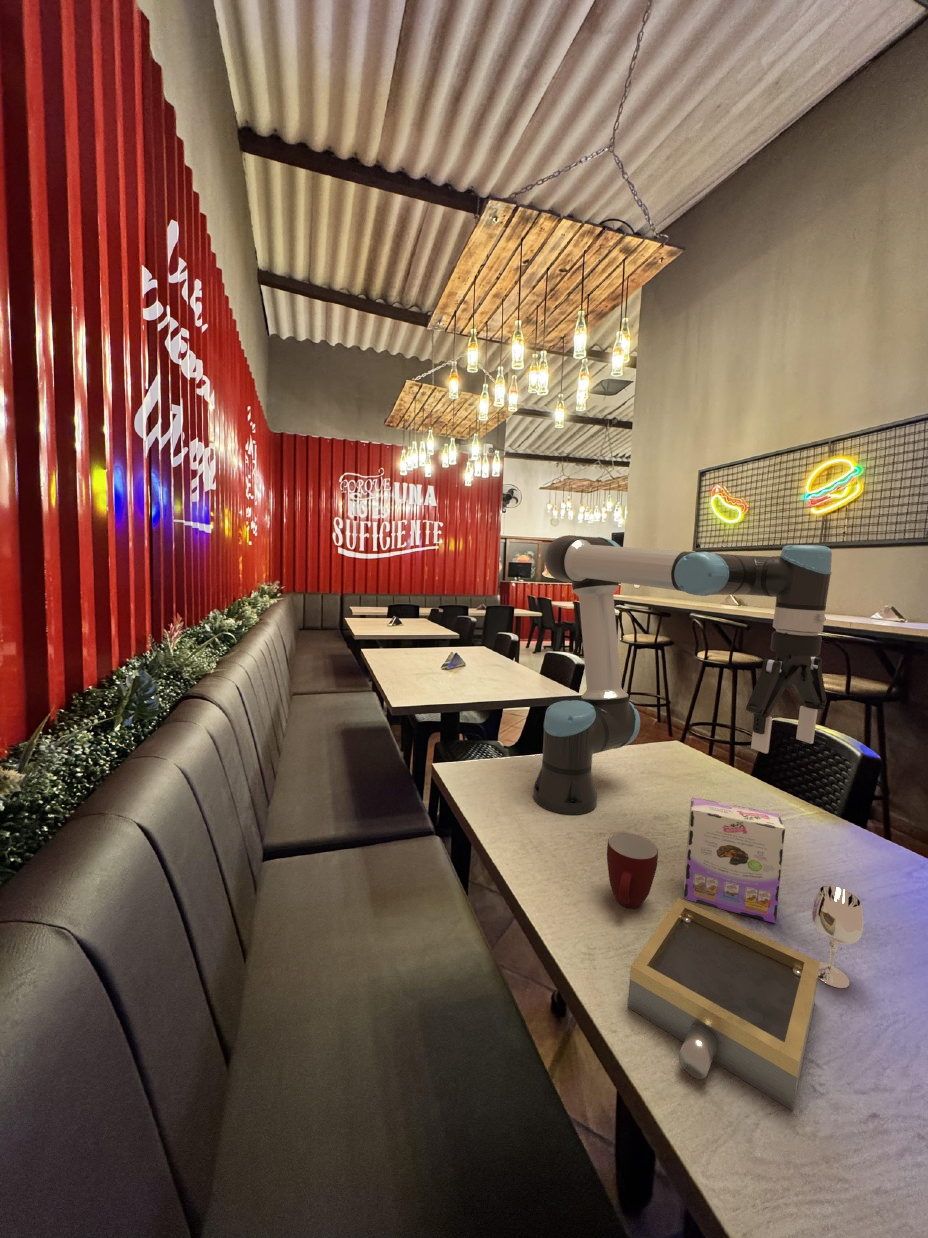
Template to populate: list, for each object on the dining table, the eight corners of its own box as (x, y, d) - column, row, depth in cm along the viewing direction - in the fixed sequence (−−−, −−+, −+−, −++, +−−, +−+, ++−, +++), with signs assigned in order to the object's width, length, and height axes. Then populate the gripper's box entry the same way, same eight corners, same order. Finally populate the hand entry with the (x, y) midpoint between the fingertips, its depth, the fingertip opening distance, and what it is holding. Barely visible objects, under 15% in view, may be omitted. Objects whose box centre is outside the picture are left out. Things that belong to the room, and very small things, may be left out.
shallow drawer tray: (614, 1028, 61) (617, 985, 60) (674, 932, 78) (678, 898, 77) (786, 1144, 49) (792, 1092, 49) (814, 1002, 66) (819, 962, 65)
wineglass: (795, 959, 73) (804, 883, 72) (831, 958, 73) (841, 882, 72) (827, 993, 67) (837, 911, 66) (866, 991, 68) (877, 910, 66)
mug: (653, 933, 77) (659, 873, 76) (600, 919, 80) (604, 860, 79) (653, 892, 87) (657, 838, 86) (605, 881, 90) (609, 828, 89)
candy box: (770, 903, 85) (780, 812, 83) (776, 925, 80) (787, 829, 78) (682, 880, 91) (690, 794, 89) (682, 899, 86) (691, 808, 84)
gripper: (774, 637, 80) (759, 763, 83) (858, 633, 91) (843, 744, 94) (732, 630, 87) (719, 747, 90) (815, 627, 98) (801, 731, 101)
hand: (782, 745), depth 92 cm, fingers open, 13 cm apart
